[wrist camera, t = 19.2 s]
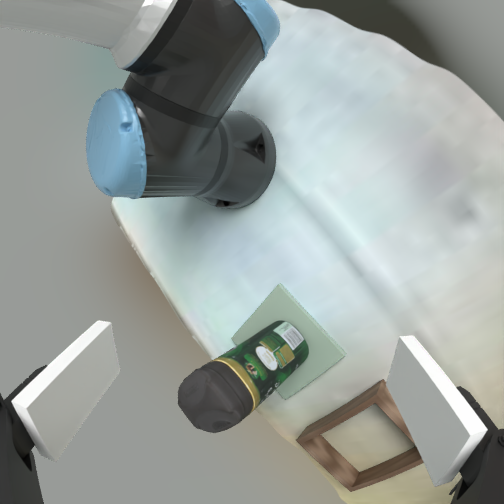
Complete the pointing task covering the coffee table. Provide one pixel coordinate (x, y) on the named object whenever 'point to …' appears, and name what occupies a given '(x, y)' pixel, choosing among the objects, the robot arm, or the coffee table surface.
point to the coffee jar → (242, 377)
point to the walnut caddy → (337, 462)
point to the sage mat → (319, 342)
